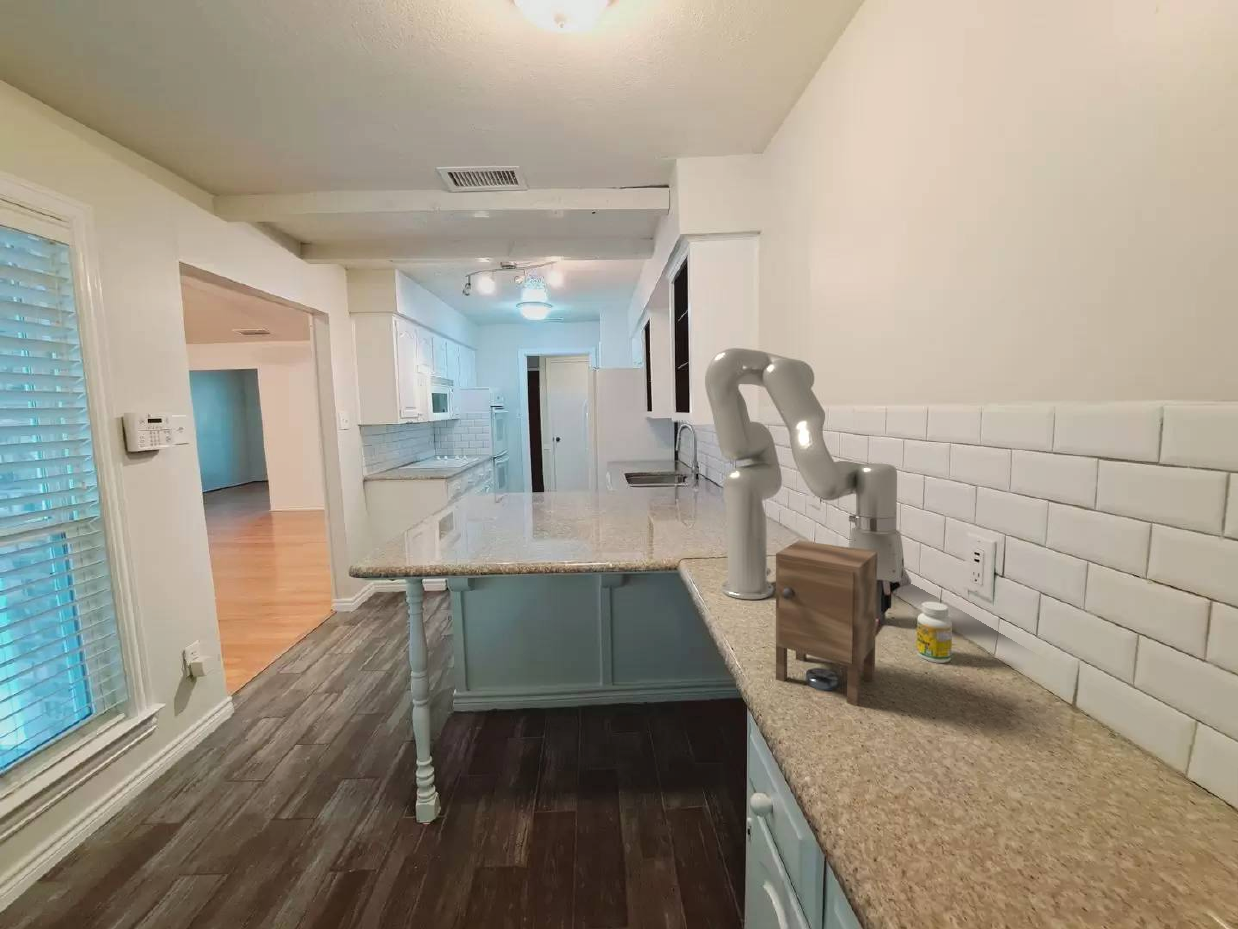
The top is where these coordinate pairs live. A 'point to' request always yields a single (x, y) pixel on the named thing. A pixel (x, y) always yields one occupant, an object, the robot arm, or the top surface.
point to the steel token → (822, 679)
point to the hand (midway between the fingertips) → (875, 608)
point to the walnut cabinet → (827, 608)
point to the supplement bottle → (934, 633)
